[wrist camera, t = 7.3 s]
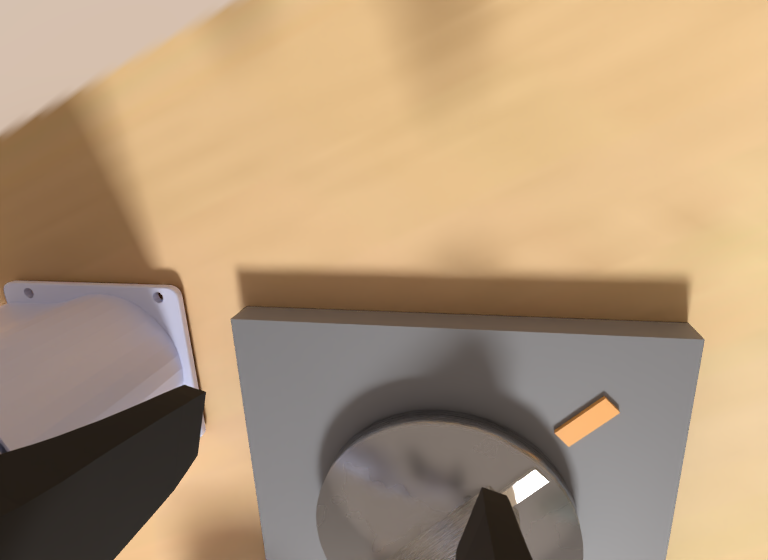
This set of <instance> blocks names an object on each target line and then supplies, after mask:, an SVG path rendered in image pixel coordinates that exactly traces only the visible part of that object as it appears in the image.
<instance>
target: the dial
mask: <svg viewBox="0 0 768 560" xmlns="http://www.w3.org/2000/svg"><path fill="white" fill-rule="evenodd" d="M482 487H484V488H486V489H489V490H492V491H495V492H498V493H501V494H504V495H507V497H508V499H509V501H510V503H511V506H512V508H513V511H514V514H515V516H516V519H517V522H518V524H519V527H520V529H521V532H522V535H523V537H524V540H525V542H526V544H527V547H528V549H529V552H530V554H531V556H532V559H533V560H583V539H582V534H581V528H580V524H579V519H578V515H577V511H576V506H575V503H574V500H573V497H572V494H571V492H570V489H569V487H568V486H567V484H566V482H565V480H564V478H563V477H562V475H561V474H560V472H559V471H558V470H557V468H556V467H555V466H554V464H553V463H552V462H551V461H550V460H549V459H548V458H547V457H546V456H545V455H544V454H543V453H542V452H541V451H540V450H539V449H538V448H537V447H535V446H534V445H533V444H532V443H530V442H529V441H528V440H527V439H525V438H523V437H522V436H520V435H519V434H517V433H515V432H514V431H512V430H510V429H508V428H506V427H504V426H502V425H500V424H498V423H495V422H493V421H490V420H487V419H484V418H481V417H478V416H475V415H470V414H466V413H461V412H455V411H446V410H419V411H411V412H405V413H401V414H397V415H393V416H389V417H387V418H384V419H382V420H379V421H377V422H375V423H373V424H371V425H369V426H367V427H366V428H364V429H362V430H361V431H360V432H358V433H357V434H356V435H354V436H353V437H352V438H351V439H350V440H349V441H348V442H347V443H346V444H345V445H344V446H343V447H342V449H341V450H340V451H339V453H338V454H337V456H336V457H335V459H334V461H333V463H332V465H331V467H330V470H329V472H328V474H327V476H326V479H325V481H324V483H323V485H322V487H321V490H320V494H319V497H318V501H317V509H316V524H317V531H318V536H319V541H320V544H321V546H322V549H323V552H324V554H325V556H326V558H327V560H455V558H456V551H457V547H458V544H459V542H460V539H461V537H462V534H463V532H464V530H465V527H466V525H467V522H468V520H469V517H470V515H471V512H472V510H473V507H474V505H475V502H476V500H477V497H478V495H479V493H480V490H481V488H482Z"/></svg>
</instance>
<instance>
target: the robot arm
mask: <svg viewBox="0 0 768 560" xmlns="http://www.w3.org/2000/svg"><path fill="white" fill-rule="evenodd" d="M32 291H33V292H32ZM33 293H34V294H33ZM158 293H160V294H161V295H162V296H163V300H162V299H161V298H160V297H159V295H158ZM4 294H5V297H6V301H7V304H5V305H2V306H0V560H114V559H115V557H116V556H117V555H118V554H119V553H120V552H121V551H122V549H123V548H124V547H125V546H126V545H127V544H128V543H129V541H130V540H131V539H132V538H133V537H134V536H135V535H136V533H137V532H138V531H139V530H140V529H141V528H142V527H143V525H144V524H145V523H146V522H147V521H148V520H149V519H150V517H151V516H152V515H153V514H154V513H155V512H156V511H157V509H158V508H159V507H160V506H161V505H162V504H163V502H164V501H165V500H166V499H167V498H168V497H169V495H170V494H171V493H172V492H173V491H174V489H175V488H176V486H177V485H178V484H179V482H180V481H181V479H182V478H183V476H184V475H185V473H186V472H187V470H188V469H189V467H190V466H191V464H192V463H193V461H194V460H195V458H196V457H197V455H198V448H199V440H200V437H201V436H202V435H203V434H204V433H205V430H206V427H205V422H204V416H203V410H204V403H205V395H206V392H204V391H201V390H199V388H198V382H197V376H196V371H195V365H194V359H193V354H192V348H191V342H190V337H189V331H188V325H187V320H186V314H185V308H184V303H183V297H182V294H181V291H180V290H179V289H178V288H177V287H175V286H173V285H154V284H119V283H85V282H50V281H16V280H15V281H11V282H8V283H6V284H5V285H4ZM455 560H533V559H532V556H531V554H530V552H529V549H528V547H527V544H526V542H525V540H524V537H523V535H522V532H521V529H520V527H519V524H518V522H517V519H516V516H515V514H514V511H513V508H512V506H511V503H510V501H509V499H508V497H507V495H504V494H501V493H498V492H495V491H492V490H489V489H486V488H484V487H482V488H481V490H480V493H479V495H478V497H477V500H476V502H475V505H474V507H473V510H472V512H471V515H470V517H469V520H468V522H467V525H466V527H465V530H464V532H463V534H462V537H461V539H460V542H459V544H458V547H457V551H456V558H455Z"/></svg>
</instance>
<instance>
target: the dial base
mask: <svg viewBox="0 0 768 560" xmlns="http://www.w3.org/2000/svg"><path fill="white" fill-rule="evenodd" d="M231 324H232V331H233V338H234V345H235V351H236V358H237V365H238V372H239V379H240V385H241V392H242V399H243V406H244V413H245V420H246V426H247V433H248V440H249V447H250V454H251V460H252V467H253V474H254V481H255V488H256V494H257V501H258V508H259V515H260V522H261V529H262V535H263V542H264V549H265V556H266V560H327V558H326V556H325V554H324V552H323V549H322V546H321V544H320V541H319V536H318V531H317V524H316V509H317V501H318V497H319V494H320V490H321V487H322V485H323V483H324V481H325V479H326V476H327V474H328V472H329V470H330V467H331V465H332V463H333V461H334V459H335V457H336V456H337V454H338V453H339V451H340V450H341V449H342V447H343V446H344V445H345V444H346V443H347V442H348V441H349V440H350V439H351V438H352V437H353V436H354V435H356V434H357V433H358V432H360V431H361V430H362V429H364V428H366V427H367V426H369V425H371V424H373V423H375V422H377V421H379V420H382V419H384V418H387V417H389V416H393V415H397V414H401V413H405V412H411V411H419V410H446V411H455V412H461V413H466V414H470V415H475V416H478V417H481V418H484V419H487V420H490V421H493V422H495V423H498V424H500V425H502V426H504V427H506V428H508V429H510V430H512V431H514V432H515V433H517V434H519V435H520V436H522V437H523V438H525V439H527V440H528V441H529V442H530V443H532V444H533V445H534V446H535V447H537V448H538V449H539V450H540V451H541V452H542V453H543V454H544V455H545V456H546V457H547V458H548V459H549V460H550V461H551V462H552V463H553V464H554V466H555V467H556V468H557V470H558V471H559V472H560V474H561V475H562V477H563V478H564V480H565V482H566V484H567V486H568V487H569V489H570V492H571V494H572V497H573V500H574V503H575V506H576V511H577V515H578V519H579V524H580V528H581V534H582V539H583V560H666V554H667V549H668V543H669V537H670V532H671V526H672V520H673V515H674V509H675V504H676V498H677V492H678V487H679V481H680V475H681V470H682V464H683V458H684V453H685V447H686V441H687V436H688V430H689V425H690V419H691V413H692V408H693V402H694V396H695V391H696V385H697V379H698V374H699V368H700V362H701V357H702V351H703V346H704V339H703V338H702V337H701V335H700V334H699V333H698V332H697V331H696V330H695V329H694V328H693V327H692V326H691V325H690V324H689V323H680V322H653V321H626V320H600V319H573V318H546V317H520V316H493V315H466V314H440V313H413V312H386V311H360V310H333V309H306V308H280V307H253V306H247V307H245V308H244V309H243V310H242V311H240V312H239V313H238V314H237V315H235V316H234V317H233V318H231Z"/></svg>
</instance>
